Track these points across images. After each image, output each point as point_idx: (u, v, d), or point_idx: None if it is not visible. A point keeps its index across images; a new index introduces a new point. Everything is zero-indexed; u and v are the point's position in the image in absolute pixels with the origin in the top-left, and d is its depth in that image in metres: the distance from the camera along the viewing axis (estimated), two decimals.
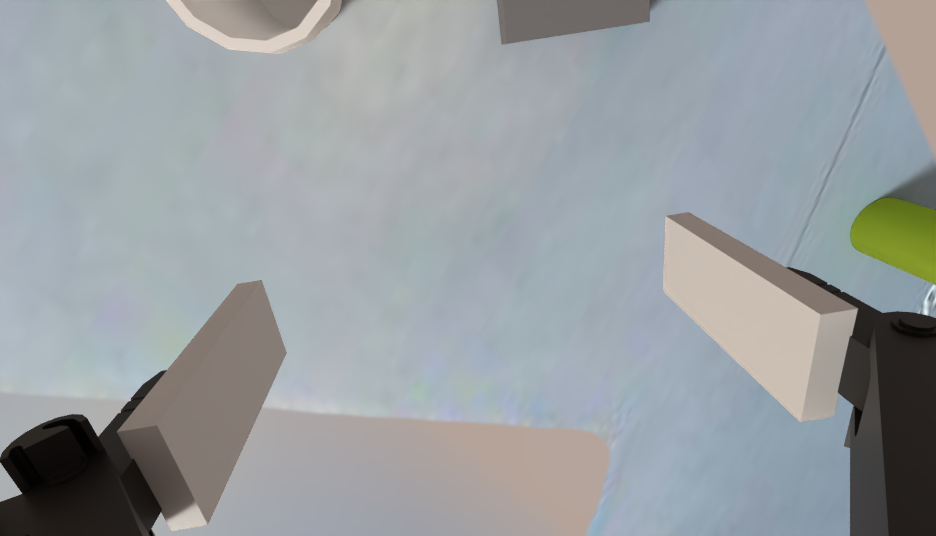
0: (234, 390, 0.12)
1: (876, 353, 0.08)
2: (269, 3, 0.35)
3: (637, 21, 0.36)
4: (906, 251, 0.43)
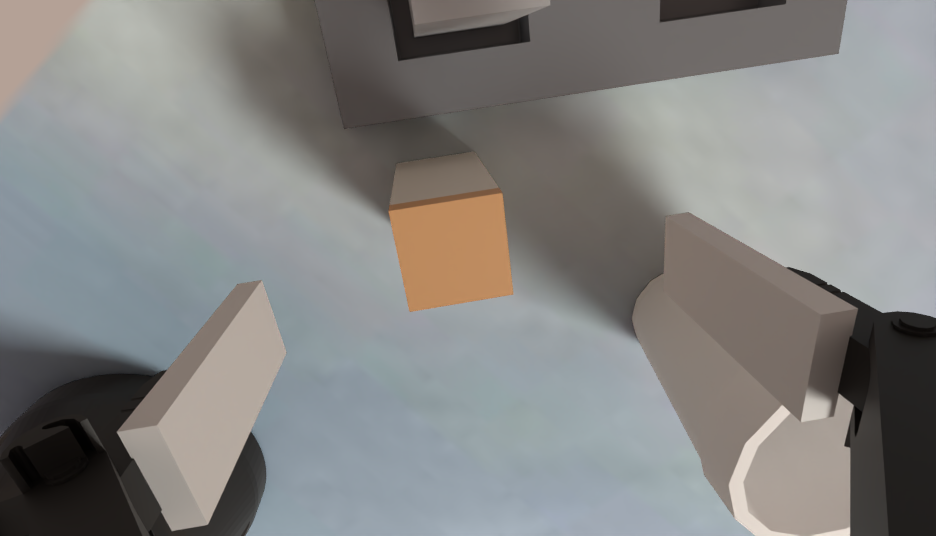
0: (234, 390, 0.12)
1: (876, 353, 0.08)
2: None
3: None
4: None
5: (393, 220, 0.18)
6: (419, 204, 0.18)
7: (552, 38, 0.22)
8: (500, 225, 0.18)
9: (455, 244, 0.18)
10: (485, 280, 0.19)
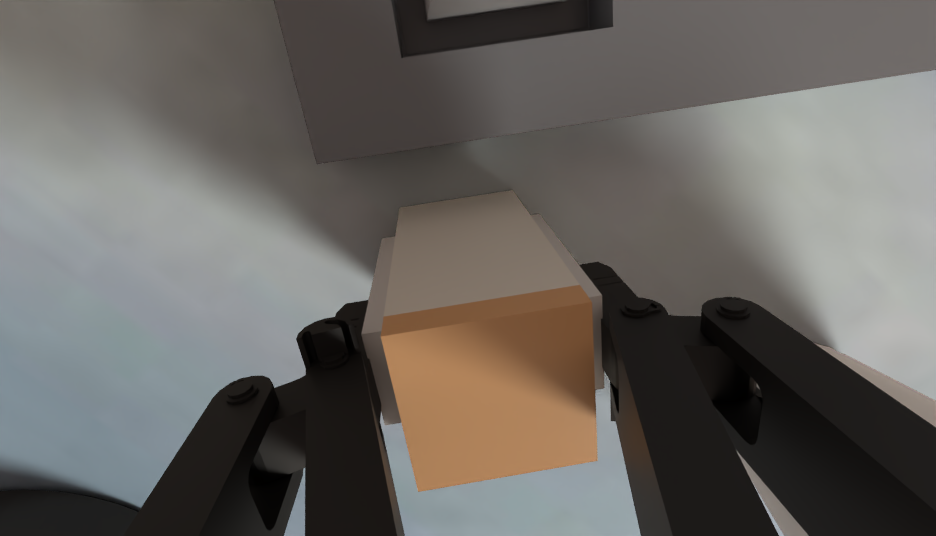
0: None
1: (617, 340, 0.10)
2: None
3: None
4: None
5: (390, 352, 0.10)
6: (438, 321, 0.10)
7: (648, 21, 0.14)
8: (584, 355, 0.10)
9: (501, 388, 0.10)
10: (551, 441, 0.11)
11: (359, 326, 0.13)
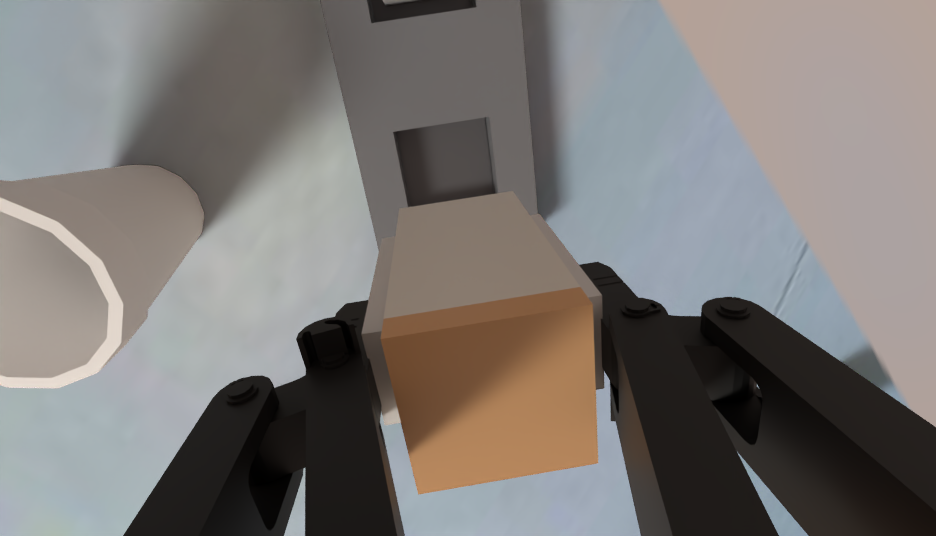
0: None
1: (617, 340, 0.10)
2: None
3: None
4: None
5: (389, 354, 0.09)
6: (438, 324, 0.10)
7: (375, 43, 0.27)
8: (584, 358, 0.10)
9: (502, 390, 0.10)
10: (551, 444, 0.11)
11: (359, 326, 0.13)
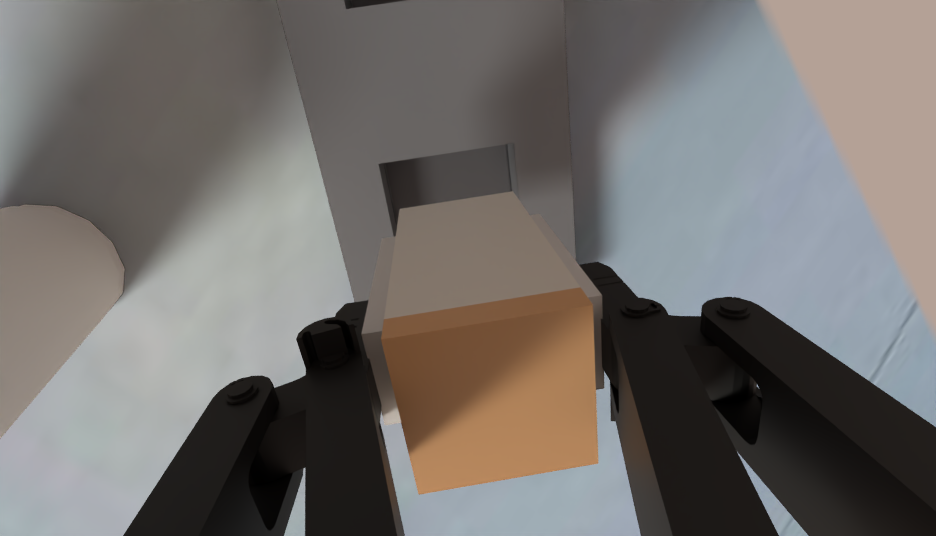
0: None
1: (617, 340, 0.10)
2: None
3: None
4: None
5: (390, 355, 0.09)
6: (438, 324, 0.10)
7: (351, 38, 0.19)
8: (585, 358, 0.10)
9: (502, 390, 0.10)
10: (552, 444, 0.11)
11: (359, 326, 0.13)
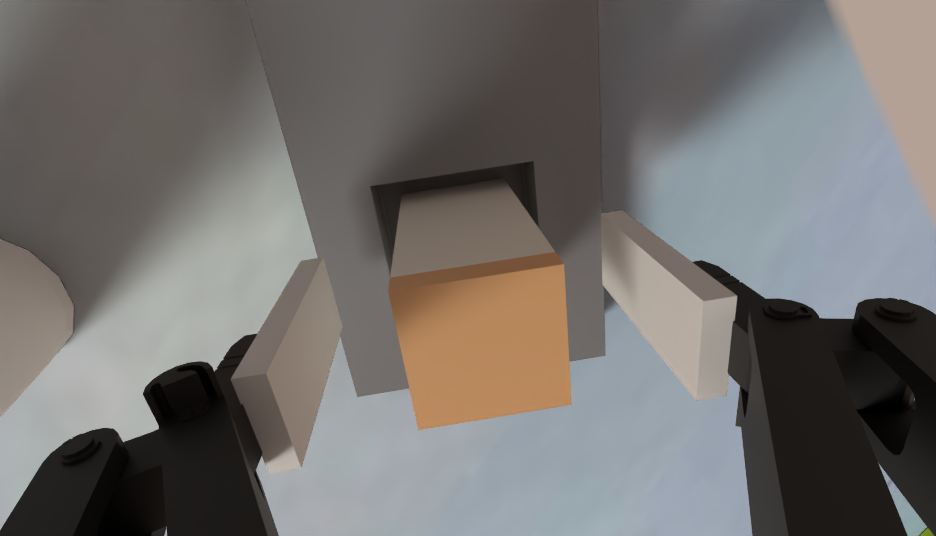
0: (311, 353, 0.13)
1: (754, 339, 0.09)
2: None
3: (584, 356, 0.21)
4: None
5: (395, 305, 0.11)
6: (435, 280, 0.12)
7: (336, 34, 0.15)
8: (558, 310, 0.12)
9: (489, 338, 0.12)
10: (531, 386, 0.13)
11: None
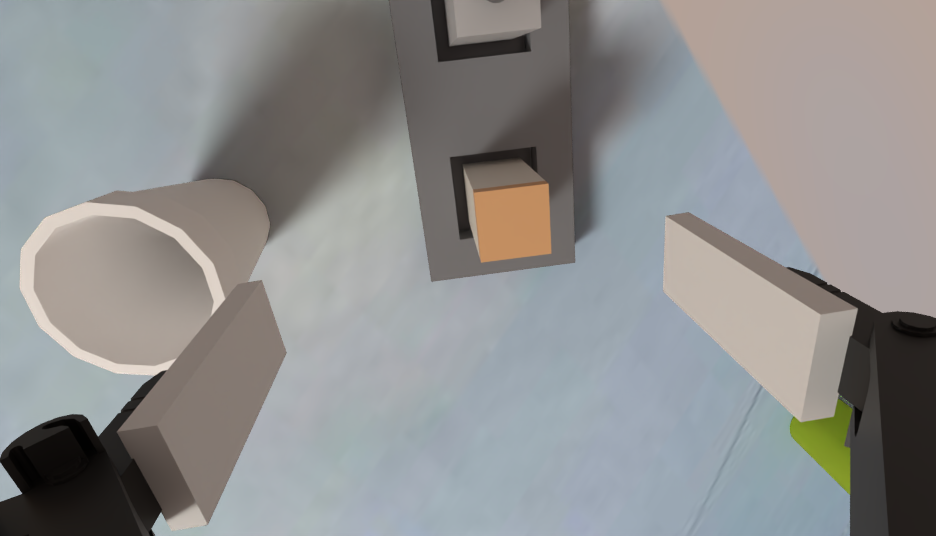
0: (234, 390, 0.12)
1: (876, 353, 0.08)
2: None
3: (563, 262, 0.37)
4: (838, 470, 0.42)
5: (476, 199, 0.27)
6: (493, 189, 0.27)
7: (440, 79, 0.31)
8: (545, 205, 0.27)
9: (515, 217, 0.27)
10: (533, 242, 0.28)
11: None
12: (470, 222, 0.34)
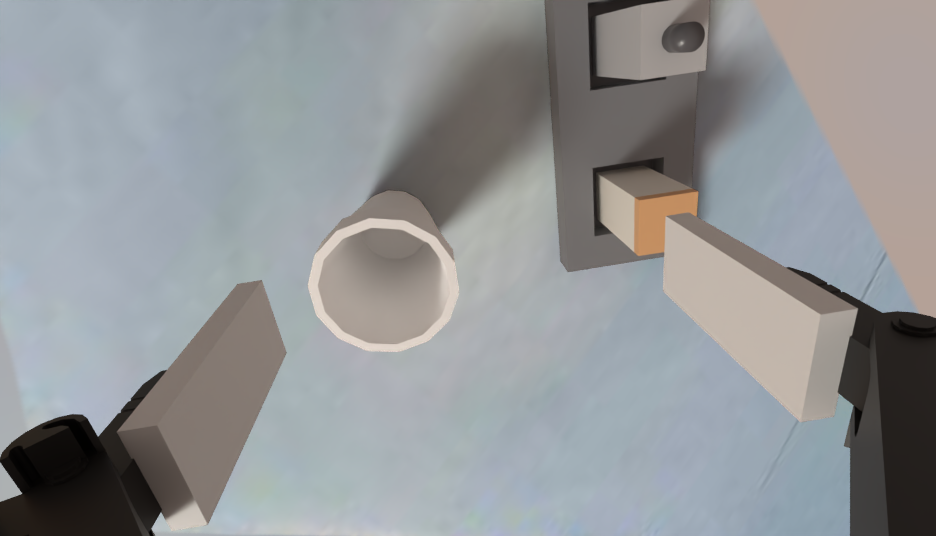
0: (234, 390, 0.12)
1: (876, 353, 0.08)
2: (369, 241, 0.42)
3: None
4: None
5: (640, 205, 0.33)
6: (653, 197, 0.34)
7: (590, 104, 0.37)
8: (694, 208, 0.34)
9: None
10: None
11: None
12: (606, 221, 0.41)
